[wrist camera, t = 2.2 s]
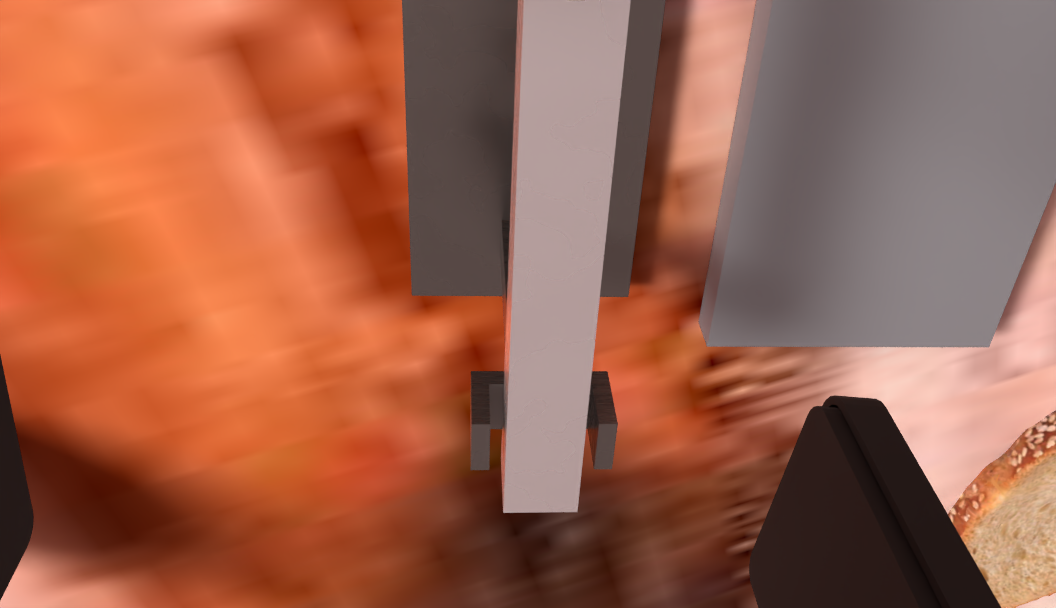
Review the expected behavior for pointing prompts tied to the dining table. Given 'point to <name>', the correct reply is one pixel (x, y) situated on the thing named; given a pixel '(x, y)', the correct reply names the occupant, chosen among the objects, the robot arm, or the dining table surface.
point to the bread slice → (1014, 518)
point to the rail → (557, 239)
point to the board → (883, 172)
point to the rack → (503, 173)
